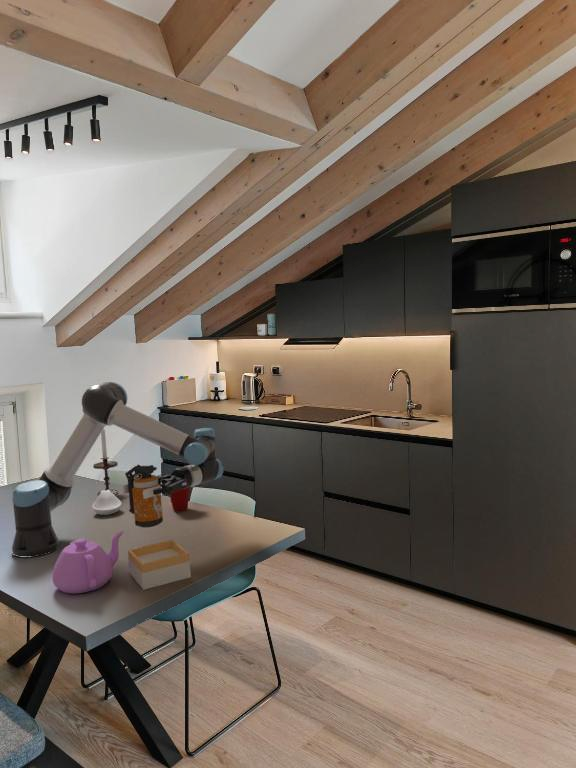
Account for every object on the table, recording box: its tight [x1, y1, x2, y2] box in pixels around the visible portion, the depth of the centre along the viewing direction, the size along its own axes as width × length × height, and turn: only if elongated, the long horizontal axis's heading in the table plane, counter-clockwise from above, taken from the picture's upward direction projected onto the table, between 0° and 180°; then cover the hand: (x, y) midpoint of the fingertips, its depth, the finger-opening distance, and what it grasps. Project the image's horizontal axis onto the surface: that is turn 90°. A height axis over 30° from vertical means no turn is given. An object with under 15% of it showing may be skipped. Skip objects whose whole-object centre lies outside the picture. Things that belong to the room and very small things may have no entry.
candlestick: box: [92, 427, 119, 496], centre depth 280 cm, size 11×11×35 cm
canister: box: [124, 464, 164, 528], centre depth 199 cm, size 9×11×20 cm
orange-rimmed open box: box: [127, 539, 192, 591], centre depth 184 cm, size 15×15×8 cm
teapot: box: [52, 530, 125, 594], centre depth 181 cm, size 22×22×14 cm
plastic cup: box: [168, 487, 191, 513], centre depth 251 cm, size 11×11×12 cm
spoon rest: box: [91, 489, 122, 516], centre depth 257 cm, size 24×12×7 cm, turn 19°
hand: (133, 492), depth 195 cm, fingers closed on canister, 10 cm apart
